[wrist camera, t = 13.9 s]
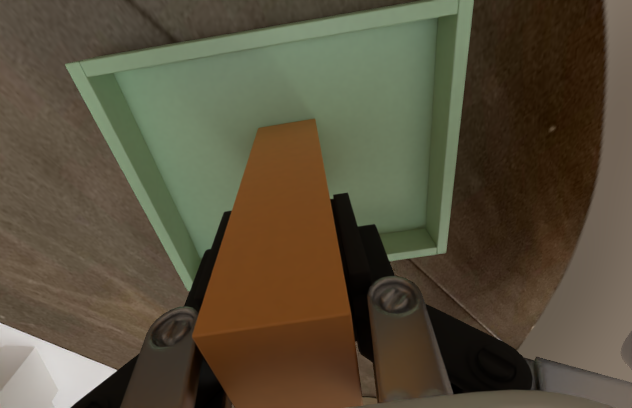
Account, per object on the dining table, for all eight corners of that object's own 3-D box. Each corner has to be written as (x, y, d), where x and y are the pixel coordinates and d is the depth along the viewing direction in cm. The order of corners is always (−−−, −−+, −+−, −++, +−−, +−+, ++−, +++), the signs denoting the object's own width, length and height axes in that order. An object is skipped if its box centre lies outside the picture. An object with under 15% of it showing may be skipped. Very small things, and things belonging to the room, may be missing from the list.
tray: (447, -5, 14) (475, -8, 12) (431, 228, 21) (446, 253, 19) (98, 56, 14) (63, 64, 12) (198, 263, 21) (187, 291, 19)
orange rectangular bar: (315, 118, 16) (351, 313, 6) (326, 192, 18) (365, 424, 8) (257, 127, 16) (190, 336, 6) (276, 200, 18) (253, 439, 8)
